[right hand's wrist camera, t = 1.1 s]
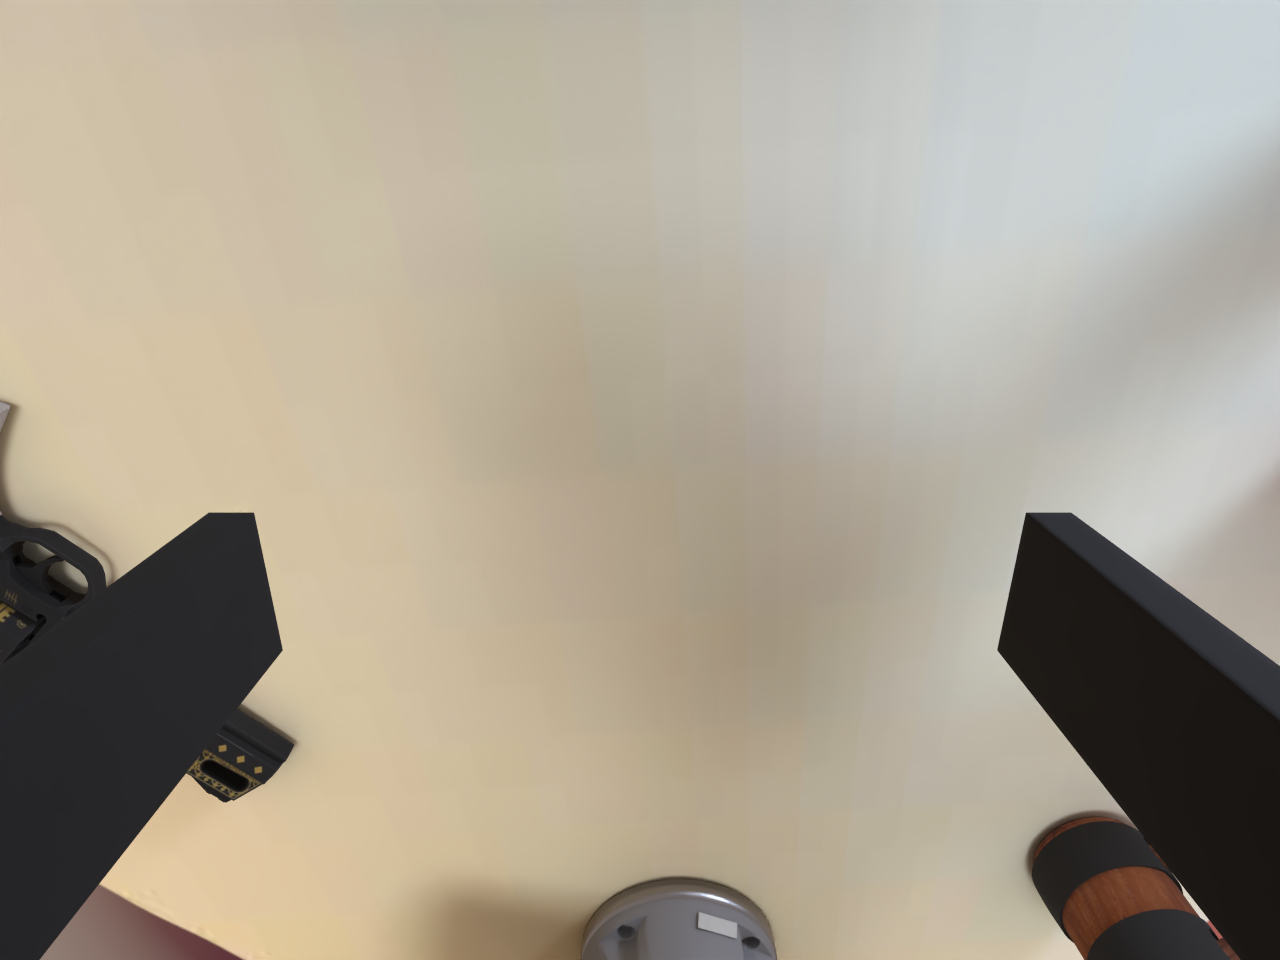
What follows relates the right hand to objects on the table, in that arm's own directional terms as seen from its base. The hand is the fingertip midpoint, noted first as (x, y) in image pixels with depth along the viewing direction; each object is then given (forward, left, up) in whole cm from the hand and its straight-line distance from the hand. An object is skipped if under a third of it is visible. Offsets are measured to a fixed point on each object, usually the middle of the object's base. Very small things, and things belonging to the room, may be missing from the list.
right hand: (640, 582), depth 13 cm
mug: (-34, -39, -30) cm, 60 cm away
